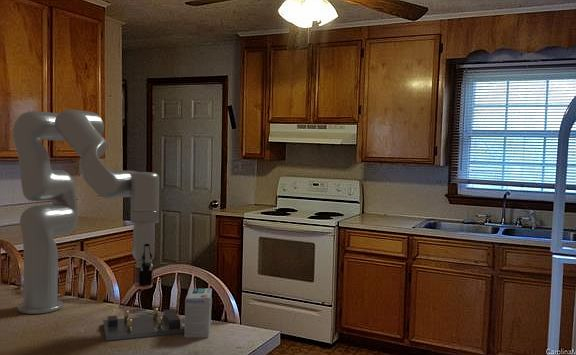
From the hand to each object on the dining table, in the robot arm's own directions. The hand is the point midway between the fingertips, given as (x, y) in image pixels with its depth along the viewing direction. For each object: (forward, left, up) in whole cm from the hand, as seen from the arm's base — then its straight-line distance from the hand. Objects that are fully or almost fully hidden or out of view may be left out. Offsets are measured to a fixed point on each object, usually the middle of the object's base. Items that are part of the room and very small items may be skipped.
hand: (143, 282), depth 146 cm
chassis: (0, 0, -13) cm, 13 cm away
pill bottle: (0, 0, -2) cm, 2 cm away
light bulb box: (+6, +14, -13) cm, 20 cm away
